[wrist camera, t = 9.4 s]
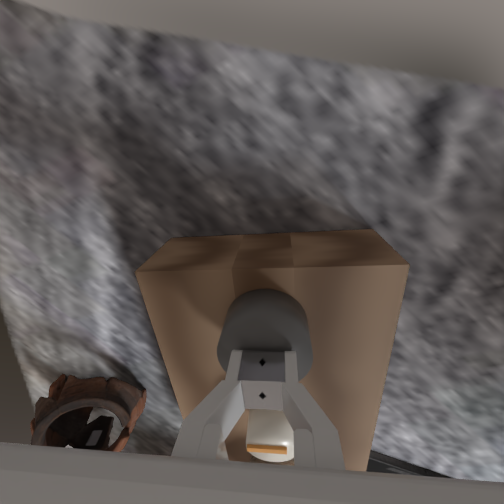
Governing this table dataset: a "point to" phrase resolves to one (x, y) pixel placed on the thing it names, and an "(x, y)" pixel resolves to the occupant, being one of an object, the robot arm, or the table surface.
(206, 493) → the robot arm
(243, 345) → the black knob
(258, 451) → the dial
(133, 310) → the table surface
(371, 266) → the mount
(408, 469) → the phone
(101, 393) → the brown open round fixture
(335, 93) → the table surface
